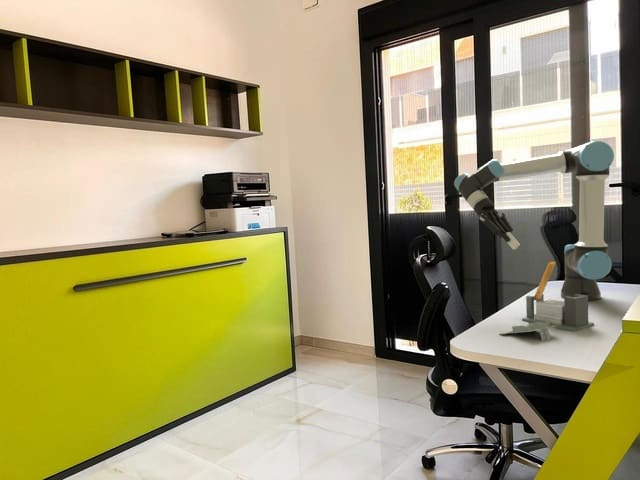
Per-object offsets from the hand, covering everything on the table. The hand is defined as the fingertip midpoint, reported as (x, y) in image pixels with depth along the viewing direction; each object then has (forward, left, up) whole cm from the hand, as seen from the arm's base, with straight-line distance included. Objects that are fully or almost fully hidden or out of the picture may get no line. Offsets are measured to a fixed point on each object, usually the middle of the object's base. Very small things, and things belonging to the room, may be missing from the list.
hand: (516, 246), depth 182 cm
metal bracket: (+19, +20, -27) cm, 39 cm away
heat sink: (0, +14, -25) cm, 29 cm away
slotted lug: (0, +24, -25) cm, 35 cm away
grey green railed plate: (0, +16, -26) cm, 31 cm away
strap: (0, +12, -12) cm, 17 cm away
